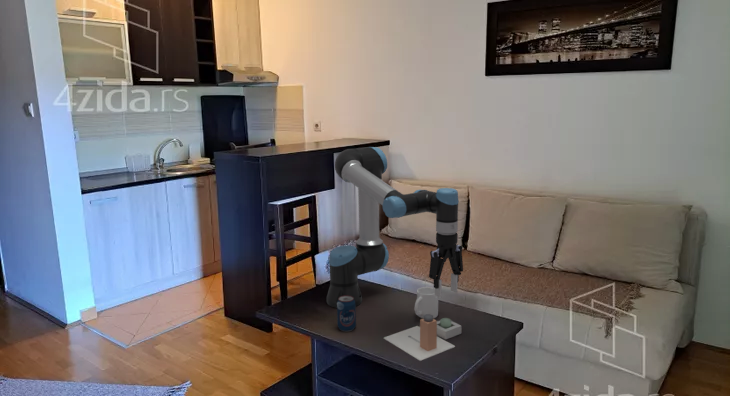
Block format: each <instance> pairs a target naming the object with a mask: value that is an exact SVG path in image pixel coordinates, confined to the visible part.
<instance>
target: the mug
mask: <svg viewBox="0 0 730 396" xmlns="http://www.w3.org/2000/svg"><path fill="white" fill-rule="evenodd" d="M413 307H414V308H413V309H414V313H415V315H417V317H419V318H420V319H424V315H426V314H430V315H433V319H434V320H435V319H436V318H437V317H438V315H439V297H437V296H435V288H434V287H432V286H423V287H418V288H417V290H416V300H415V302H414V306H413Z"/></svg>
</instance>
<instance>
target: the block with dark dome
mask: <svg viewBox="0 0 730 396" xmlns="http://www.w3.org/2000/svg"><path fill="white" fill-rule="evenodd" d="M437 321H438V320H436V319H435V318H434V319H433V315H430V314H426V315H424V319H423V318H420V319H419V327H420V347H421V348H423V349H425V350H426V351H430V350H432V349H435V348H437V337H438V336H437Z"/></svg>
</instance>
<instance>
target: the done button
mask: <svg viewBox="0 0 730 396" xmlns="http://www.w3.org/2000/svg"><path fill="white" fill-rule="evenodd" d="M439 321H440V326H441V327H443V328H445V329H447V328H450V327H451V321H452V319H451V318H449V317H442V318H440V320H439Z"/></svg>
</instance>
